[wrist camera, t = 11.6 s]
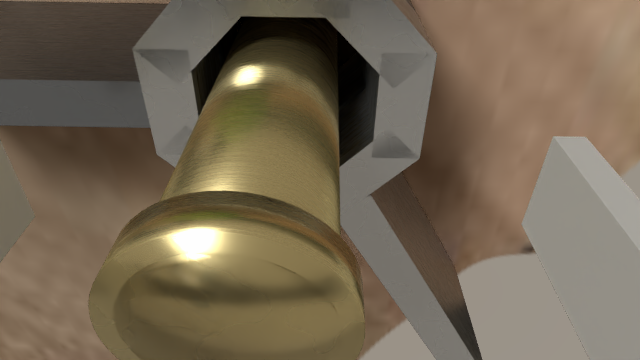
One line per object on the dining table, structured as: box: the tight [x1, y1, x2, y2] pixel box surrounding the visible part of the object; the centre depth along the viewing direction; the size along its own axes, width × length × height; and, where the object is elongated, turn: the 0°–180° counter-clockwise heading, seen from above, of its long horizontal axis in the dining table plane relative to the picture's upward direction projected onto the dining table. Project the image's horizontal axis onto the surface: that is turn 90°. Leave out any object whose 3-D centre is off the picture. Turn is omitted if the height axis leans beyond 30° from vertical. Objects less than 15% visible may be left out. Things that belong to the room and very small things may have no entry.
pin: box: [88, 16, 365, 360], centre depth 15 cm, size 5×5×16 cm
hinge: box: [0, 0, 482, 360], centre depth 21 cm, size 28×21×8 cm
